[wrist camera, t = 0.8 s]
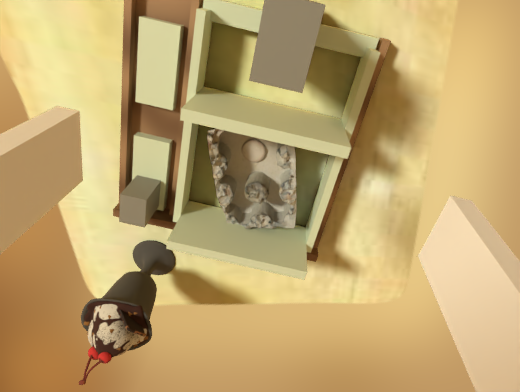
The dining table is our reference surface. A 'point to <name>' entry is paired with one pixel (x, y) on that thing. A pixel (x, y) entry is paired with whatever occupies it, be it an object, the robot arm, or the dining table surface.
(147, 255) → the sundae
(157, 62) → the broken strip
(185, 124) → the sage green shelf unit
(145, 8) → the frame
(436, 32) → the dining table surface
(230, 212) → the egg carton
